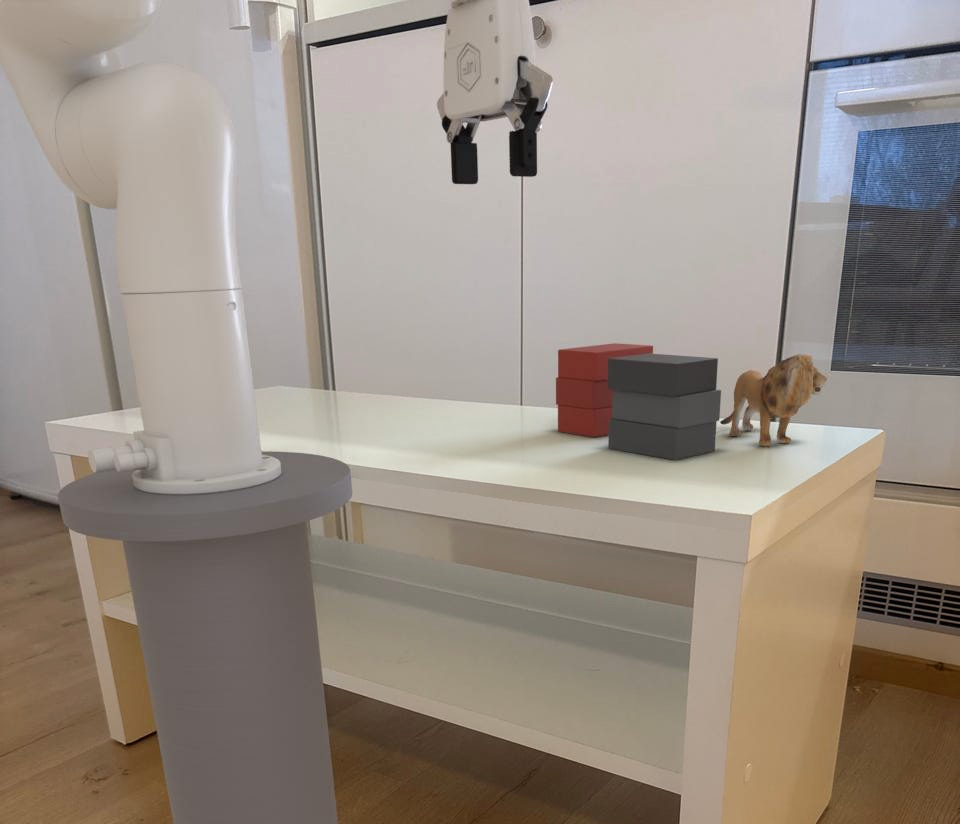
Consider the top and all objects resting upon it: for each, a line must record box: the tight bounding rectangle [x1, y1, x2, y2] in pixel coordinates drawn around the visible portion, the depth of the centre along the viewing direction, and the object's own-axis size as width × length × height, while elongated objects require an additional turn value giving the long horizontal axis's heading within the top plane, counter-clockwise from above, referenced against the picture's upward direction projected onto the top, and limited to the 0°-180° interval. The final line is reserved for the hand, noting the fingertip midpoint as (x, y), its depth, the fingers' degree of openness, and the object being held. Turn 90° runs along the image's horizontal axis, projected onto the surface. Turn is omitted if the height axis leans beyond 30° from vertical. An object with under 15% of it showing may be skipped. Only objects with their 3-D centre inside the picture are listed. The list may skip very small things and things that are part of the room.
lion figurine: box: [719, 353, 828, 447], centre depth 98 cm, size 15×5×9 cm, turn 21°
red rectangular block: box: [557, 342, 654, 381], centre depth 106 cm, size 6×9×3 cm, turn 128°
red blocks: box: [555, 376, 612, 438], centre depth 108 cm, size 6×9×6 cm
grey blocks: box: [607, 353, 722, 461], centre depth 95 cm, size 6×9×9 cm
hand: (493, 180), depth 100 cm, fingers open, 9 cm apart
